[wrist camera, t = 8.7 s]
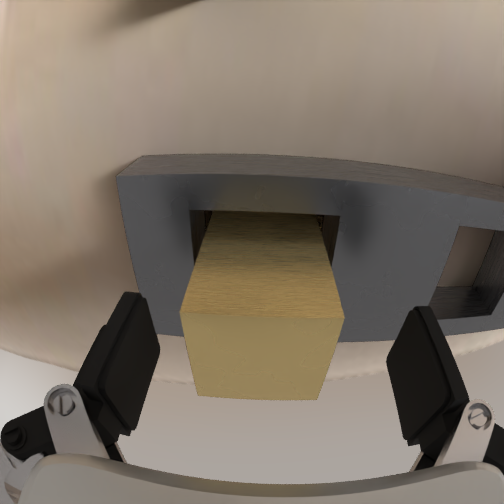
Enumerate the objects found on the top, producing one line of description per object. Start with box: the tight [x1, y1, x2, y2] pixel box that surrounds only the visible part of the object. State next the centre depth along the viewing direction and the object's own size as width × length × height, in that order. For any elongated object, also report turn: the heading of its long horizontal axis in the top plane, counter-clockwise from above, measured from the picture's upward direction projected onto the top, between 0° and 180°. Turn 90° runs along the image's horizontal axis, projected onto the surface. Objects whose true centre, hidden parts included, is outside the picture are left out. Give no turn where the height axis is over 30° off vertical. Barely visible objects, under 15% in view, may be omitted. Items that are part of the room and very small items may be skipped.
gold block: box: [180, 210, 345, 400], centre depth 13 cm, size 4×4×8 cm
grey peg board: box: [116, 154, 504, 342], centre depth 15 cm, size 24×9×3 cm, turn 89°
